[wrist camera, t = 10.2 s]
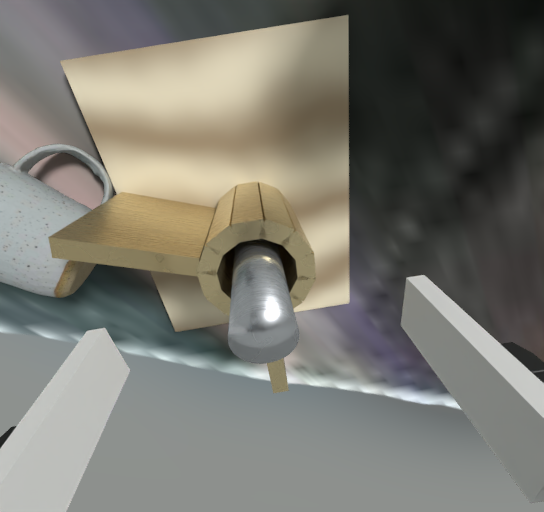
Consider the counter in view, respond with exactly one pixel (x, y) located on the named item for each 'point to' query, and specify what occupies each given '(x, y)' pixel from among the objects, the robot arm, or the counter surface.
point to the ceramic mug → (40, 225)
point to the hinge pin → (260, 305)
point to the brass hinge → (194, 242)
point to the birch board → (231, 136)
